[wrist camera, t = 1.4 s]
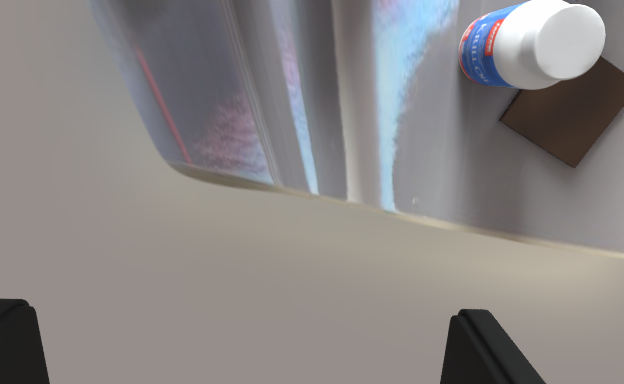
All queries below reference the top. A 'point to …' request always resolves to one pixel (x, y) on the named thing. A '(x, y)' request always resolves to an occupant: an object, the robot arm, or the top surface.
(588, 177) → the top surface
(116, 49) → the top surface
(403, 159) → the top surface
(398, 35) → the top surface
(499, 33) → the pill bottle
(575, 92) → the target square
